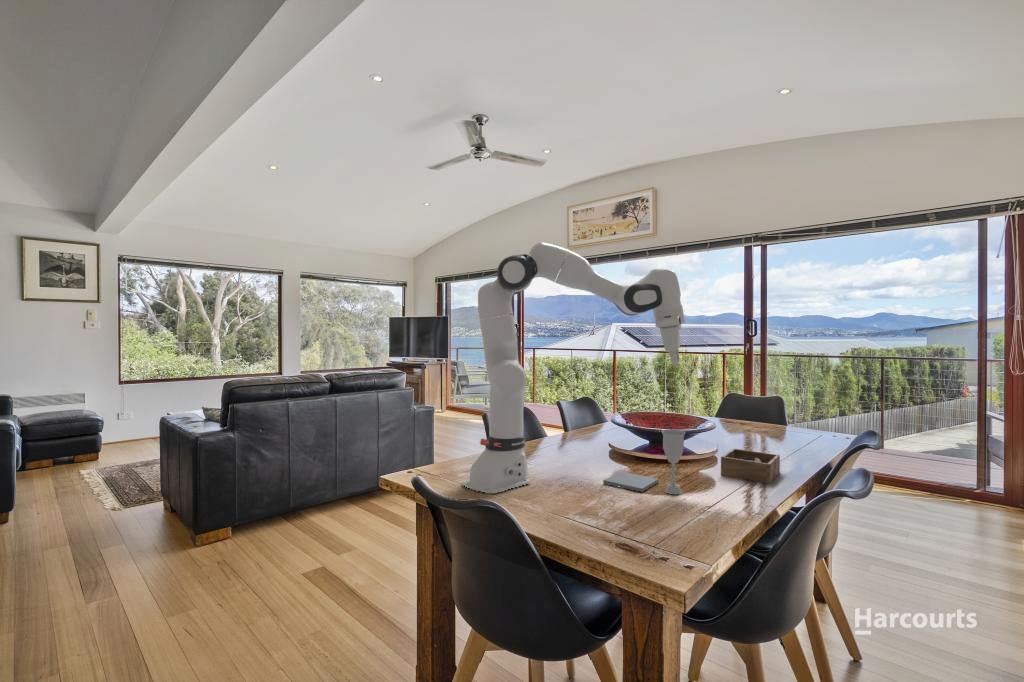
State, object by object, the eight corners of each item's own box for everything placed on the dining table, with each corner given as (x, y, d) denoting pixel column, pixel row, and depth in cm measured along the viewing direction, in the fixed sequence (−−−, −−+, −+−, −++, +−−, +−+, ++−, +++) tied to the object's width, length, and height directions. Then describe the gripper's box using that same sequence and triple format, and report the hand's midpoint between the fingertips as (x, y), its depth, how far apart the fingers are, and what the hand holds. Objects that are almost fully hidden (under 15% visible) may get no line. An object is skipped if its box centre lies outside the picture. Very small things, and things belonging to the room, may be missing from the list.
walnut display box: (769, 483, 151) (769, 464, 151) (720, 474, 161) (720, 456, 161) (779, 472, 163) (779, 455, 163) (733, 465, 172) (733, 448, 172)
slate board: (642, 492, 144) (642, 488, 144) (603, 483, 152) (603, 480, 152) (658, 482, 153) (658, 478, 153) (621, 474, 161) (621, 471, 161)
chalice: (685, 497, 139) (685, 435, 139) (660, 494, 142) (660, 433, 141) (685, 489, 146) (685, 430, 146) (661, 487, 148) (662, 428, 148)
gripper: (661, 319, 163) (667, 360, 164) (656, 322, 144) (663, 368, 145) (681, 317, 161) (687, 358, 161) (678, 319, 142) (685, 366, 142)
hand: (675, 363), depth 153 cm, fingers open, 8 cm apart
